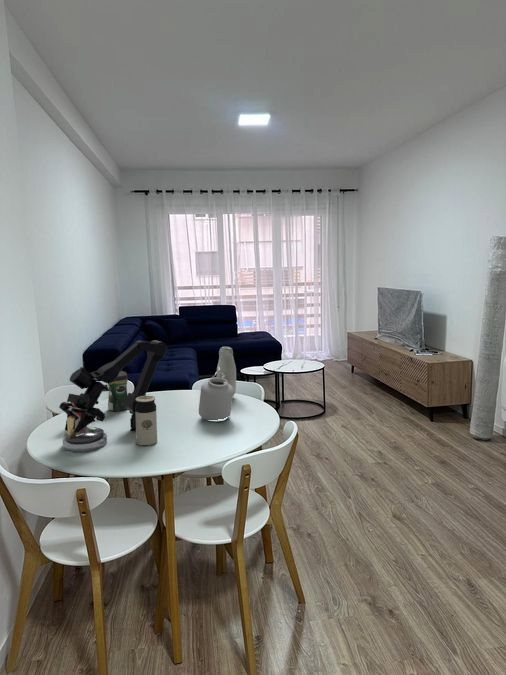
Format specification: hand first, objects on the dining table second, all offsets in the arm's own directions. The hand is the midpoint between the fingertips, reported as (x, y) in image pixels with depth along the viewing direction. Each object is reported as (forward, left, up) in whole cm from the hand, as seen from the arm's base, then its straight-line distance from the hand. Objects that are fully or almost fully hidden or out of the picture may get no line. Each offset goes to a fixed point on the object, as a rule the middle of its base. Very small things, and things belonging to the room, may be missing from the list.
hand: (70, 431), depth 163 cm
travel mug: (-25, -11, -8) cm, 29 cm away
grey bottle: (-47, -77, -8) cm, 91 cm away
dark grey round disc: (-2, -6, -7) cm, 10 cm away
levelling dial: (-2, -6, -4) cm, 8 cm away
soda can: (+10, -26, -8) cm, 29 cm away
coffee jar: (+3, -52, -8) cm, 52 cm away
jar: (-48, -41, -8) cm, 64 cm away
